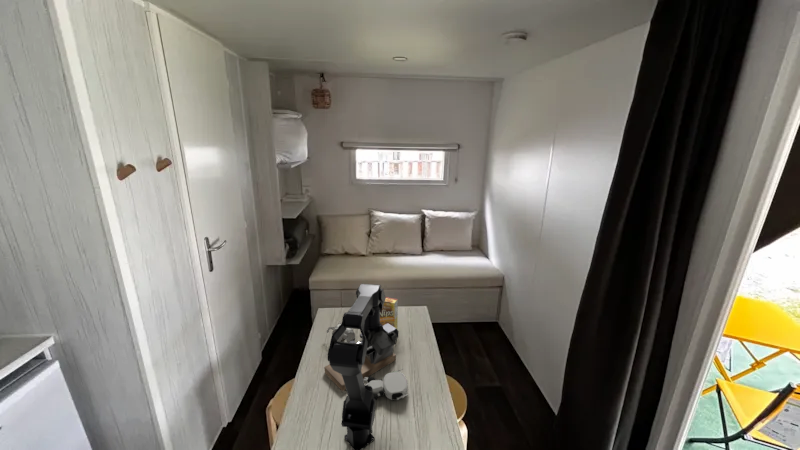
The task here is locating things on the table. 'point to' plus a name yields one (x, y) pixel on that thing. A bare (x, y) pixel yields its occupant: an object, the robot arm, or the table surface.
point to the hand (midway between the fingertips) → (371, 362)
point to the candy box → (389, 312)
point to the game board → (363, 368)
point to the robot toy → (389, 385)
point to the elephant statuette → (346, 335)
